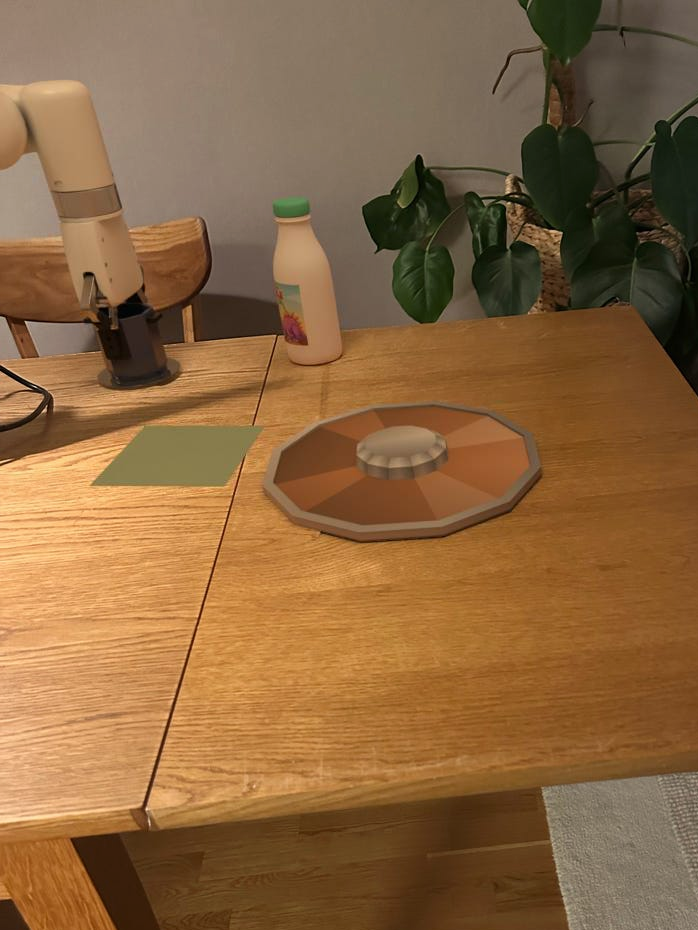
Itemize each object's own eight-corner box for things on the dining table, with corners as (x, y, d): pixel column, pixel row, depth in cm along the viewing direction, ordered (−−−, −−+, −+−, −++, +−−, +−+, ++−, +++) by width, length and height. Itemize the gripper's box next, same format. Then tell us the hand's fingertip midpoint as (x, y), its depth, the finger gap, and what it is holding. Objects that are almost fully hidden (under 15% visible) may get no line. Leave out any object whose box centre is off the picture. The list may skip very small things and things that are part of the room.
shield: (316, 380, 102) (560, 390, 97) (320, 405, 104) (559, 416, 99) (206, 503, 80) (517, 525, 74) (215, 532, 82) (517, 555, 76)
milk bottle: (337, 343, 122) (315, 191, 110) (348, 361, 116) (325, 202, 104) (284, 351, 120) (255, 197, 108) (292, 369, 115) (263, 209, 102)
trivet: (84, 392, 111) (82, 386, 111) (119, 362, 120) (117, 356, 119) (164, 392, 110) (162, 386, 110) (193, 361, 119) (191, 356, 118)
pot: (93, 381, 112) (72, 320, 107) (116, 361, 118) (97, 302, 113) (163, 381, 111) (145, 319, 106) (183, 360, 117) (167, 301, 112)
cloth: (90, 487, 90) (89, 485, 90) (145, 428, 102) (144, 425, 101) (225, 488, 89) (224, 486, 88) (265, 427, 100) (264, 425, 100)
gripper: (90, 188, 109) (131, 326, 120) (22, 220, 95) (75, 372, 106) (145, 187, 108) (182, 325, 119) (85, 219, 94) (132, 372, 106)
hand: (131, 346), depth 113 cm, fingers closed on pot, 7 cm apart
